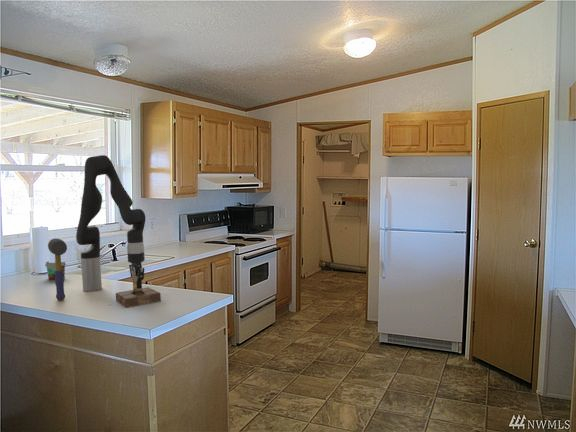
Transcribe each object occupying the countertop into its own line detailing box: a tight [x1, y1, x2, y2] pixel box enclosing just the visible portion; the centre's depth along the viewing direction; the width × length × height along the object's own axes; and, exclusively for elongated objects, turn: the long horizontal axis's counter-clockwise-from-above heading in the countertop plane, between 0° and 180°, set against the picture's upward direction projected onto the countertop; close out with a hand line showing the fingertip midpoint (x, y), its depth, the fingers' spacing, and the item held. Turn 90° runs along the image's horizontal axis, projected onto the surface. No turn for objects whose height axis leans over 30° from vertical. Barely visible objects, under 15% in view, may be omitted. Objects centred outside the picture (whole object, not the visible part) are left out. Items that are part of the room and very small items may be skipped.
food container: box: [45, 260, 67, 281], centre depth 275 cm, size 12×6×10 cm, turn 76°
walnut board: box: [115, 287, 162, 309], centre depth 223 cm, size 15×16×4 cm
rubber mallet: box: [47, 238, 68, 302], centre depth 226 cm, size 12×8×30 cm, turn 34°
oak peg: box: [132, 271, 143, 295], centre depth 223 cm, size 4×4×14 cm
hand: (137, 287), depth 223 cm, fingers closed on oak peg, 4 cm apart
